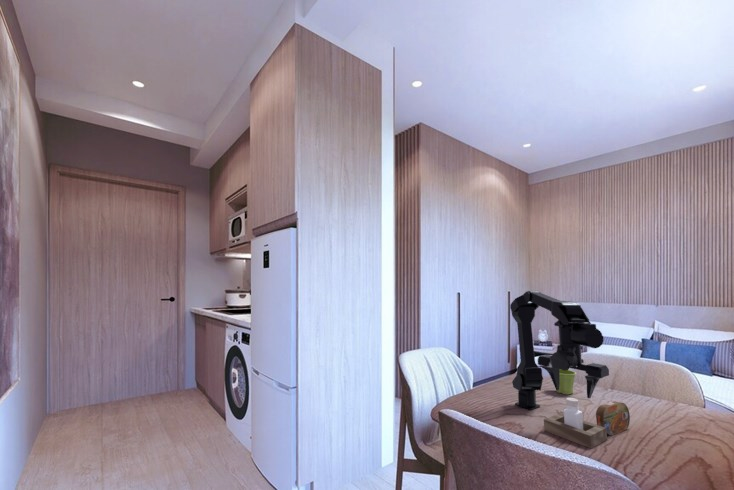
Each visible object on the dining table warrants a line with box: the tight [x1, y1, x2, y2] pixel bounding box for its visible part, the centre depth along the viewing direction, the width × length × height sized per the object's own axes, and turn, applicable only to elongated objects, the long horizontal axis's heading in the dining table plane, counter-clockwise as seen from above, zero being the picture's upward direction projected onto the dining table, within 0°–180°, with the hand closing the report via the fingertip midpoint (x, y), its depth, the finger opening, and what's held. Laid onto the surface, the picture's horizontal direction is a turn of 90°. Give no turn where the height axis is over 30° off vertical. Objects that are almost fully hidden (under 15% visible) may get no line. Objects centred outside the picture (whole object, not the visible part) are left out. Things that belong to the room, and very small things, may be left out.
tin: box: [595, 400, 631, 436], centre depth 106 cm, size 15×3×8 cm, turn 117°
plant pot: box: [555, 369, 577, 395], centre depth 144 cm, size 9×9×9 cm
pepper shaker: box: [563, 397, 584, 430], centre depth 103 cm, size 4×4×10 cm
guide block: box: [543, 412, 608, 449], centre depth 103 cm, size 10×13×3 cm
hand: (572, 393), depth 104 cm, fingers open, 9 cm apart
